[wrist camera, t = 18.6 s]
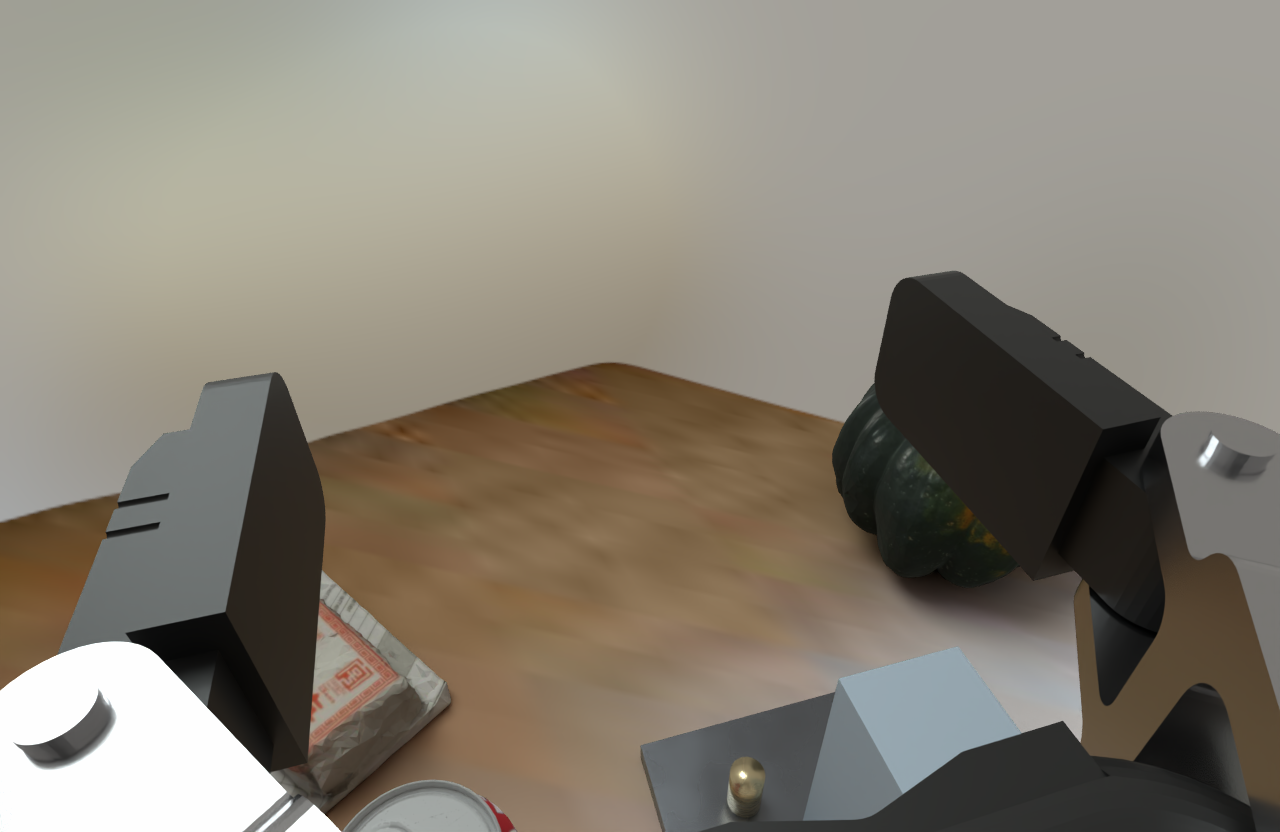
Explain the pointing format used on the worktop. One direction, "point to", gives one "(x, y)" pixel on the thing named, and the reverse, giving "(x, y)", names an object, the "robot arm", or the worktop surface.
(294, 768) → the packaged product
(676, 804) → the plate
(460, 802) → the soda can
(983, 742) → the block
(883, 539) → the squash
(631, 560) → the worktop surface
